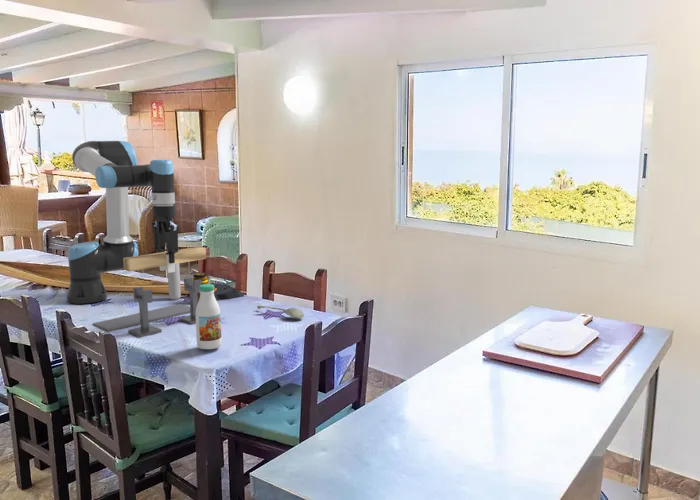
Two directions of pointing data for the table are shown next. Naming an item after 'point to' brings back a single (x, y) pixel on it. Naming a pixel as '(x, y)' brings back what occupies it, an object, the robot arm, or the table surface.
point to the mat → (135, 318)
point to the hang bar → (163, 259)
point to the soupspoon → (287, 311)
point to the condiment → (200, 277)
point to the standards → (146, 297)
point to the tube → (174, 283)
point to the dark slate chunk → (226, 292)
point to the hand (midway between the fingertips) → (167, 271)
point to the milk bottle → (208, 319)
